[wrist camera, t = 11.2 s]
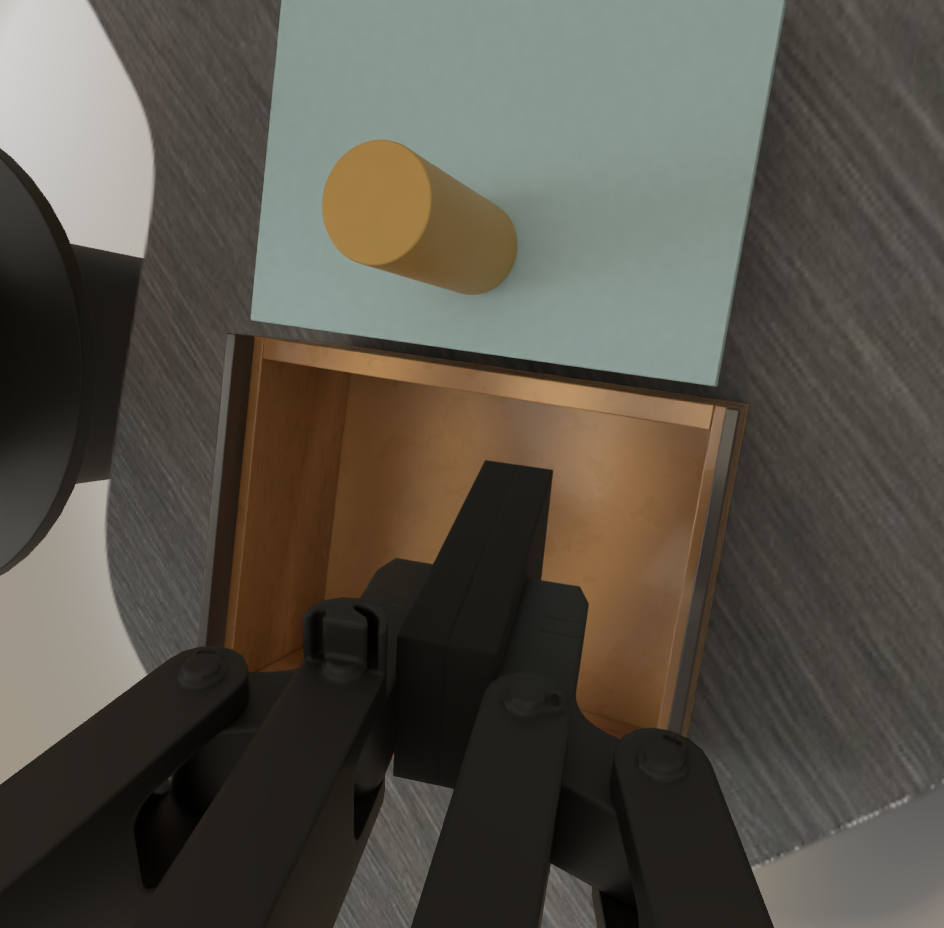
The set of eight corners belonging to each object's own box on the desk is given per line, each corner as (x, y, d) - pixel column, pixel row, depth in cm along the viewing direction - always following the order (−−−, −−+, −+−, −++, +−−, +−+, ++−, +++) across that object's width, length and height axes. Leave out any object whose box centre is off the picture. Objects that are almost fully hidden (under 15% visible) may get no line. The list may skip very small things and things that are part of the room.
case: (312, 642, 40) (190, 710, 32) (346, 344, 38) (226, 333, 30) (685, 749, 35) (655, 866, 26) (749, 403, 32) (740, 409, 24)
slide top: (262, 322, 30) (101, 301, 23) (304, -104, 28) (142, -273, 21) (717, 386, 25) (694, 386, 18) (810, -132, 23) (826, -372, 16)
